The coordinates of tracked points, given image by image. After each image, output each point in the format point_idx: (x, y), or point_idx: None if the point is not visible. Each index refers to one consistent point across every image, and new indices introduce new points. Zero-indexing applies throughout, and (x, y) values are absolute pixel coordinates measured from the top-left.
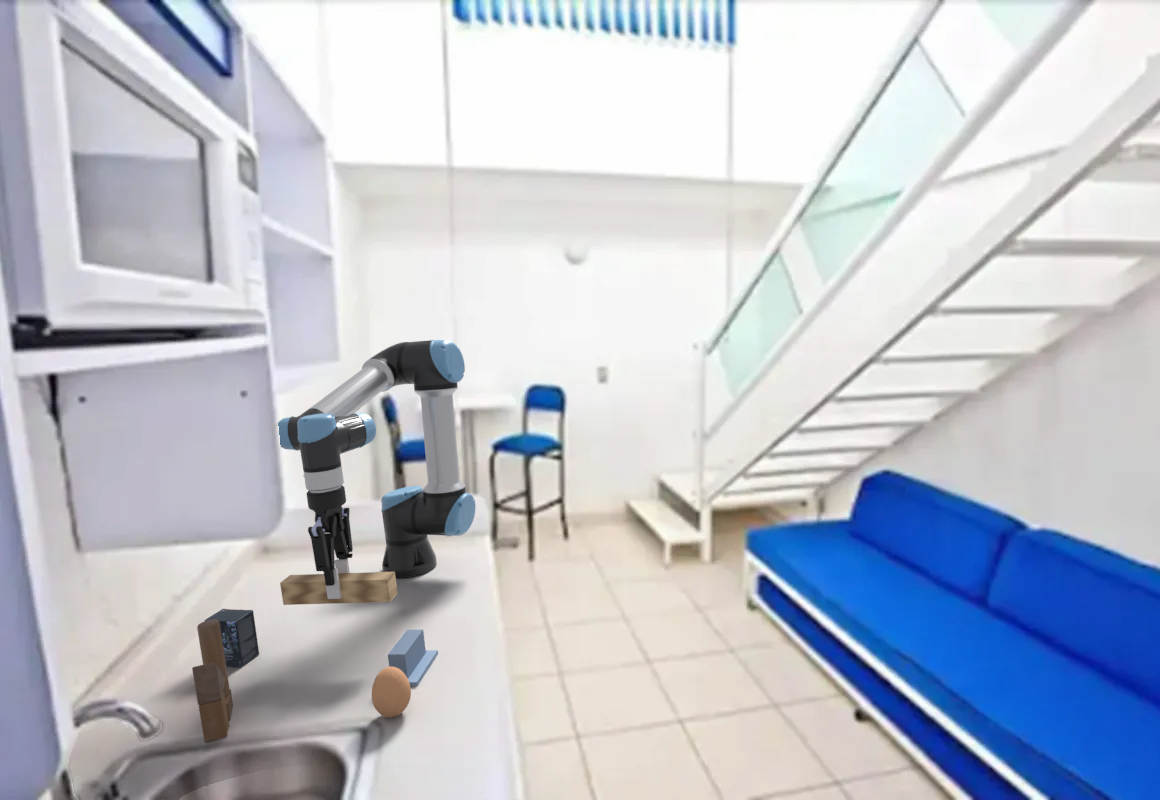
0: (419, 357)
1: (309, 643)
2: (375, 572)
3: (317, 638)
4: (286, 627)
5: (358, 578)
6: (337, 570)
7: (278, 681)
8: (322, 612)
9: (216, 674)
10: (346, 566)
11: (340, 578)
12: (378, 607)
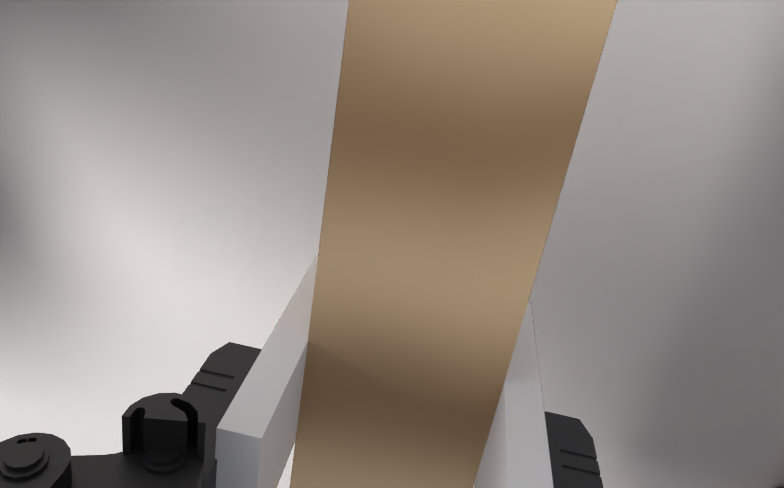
0: None
1: None
2: (356, 12)
3: None
4: None
5: (498, 194)
6: (509, 472)
7: (637, 386)
8: (71, 362)
9: None
10: (285, 392)
11: (436, 383)
12: (13, 126)
